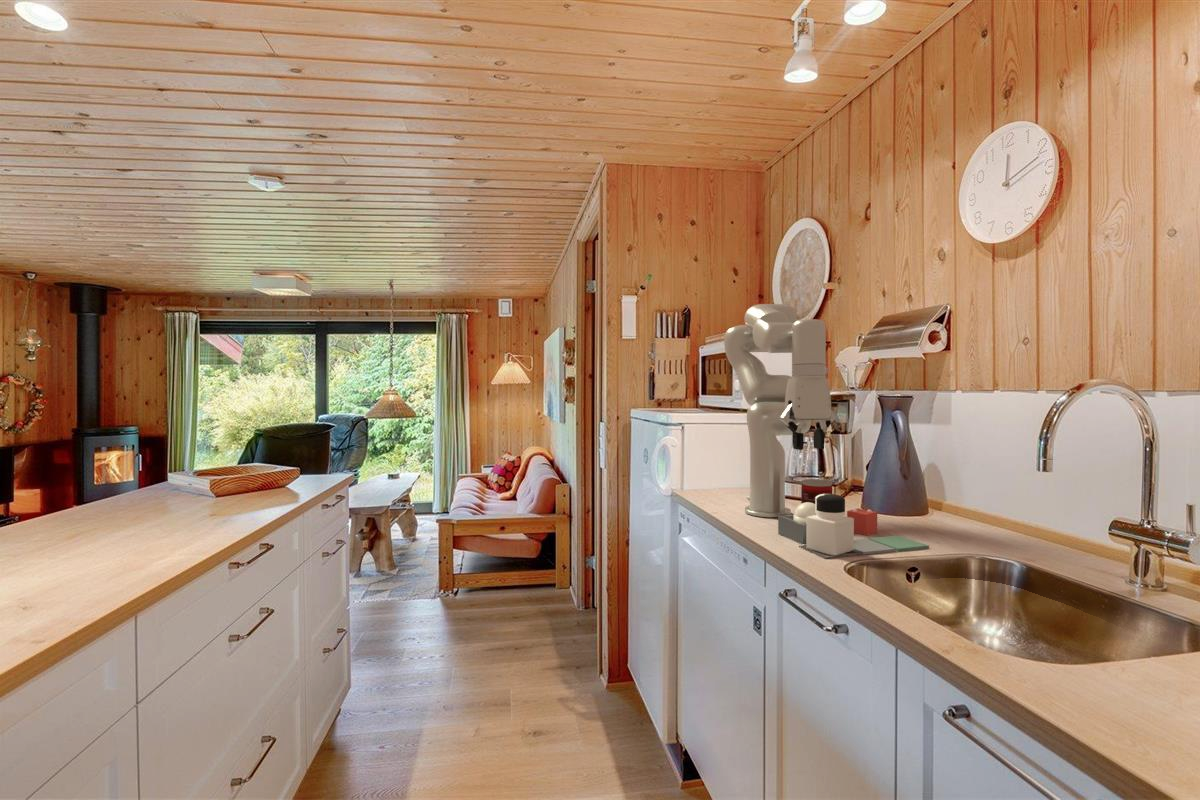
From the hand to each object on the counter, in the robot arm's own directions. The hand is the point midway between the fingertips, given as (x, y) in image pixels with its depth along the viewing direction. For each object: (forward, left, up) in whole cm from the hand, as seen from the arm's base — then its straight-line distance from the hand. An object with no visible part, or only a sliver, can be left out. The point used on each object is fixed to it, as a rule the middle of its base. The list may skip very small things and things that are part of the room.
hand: (808, 448), depth 136 cm
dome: (0, 0, -19) cm, 19 cm away
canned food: (-12, +11, -22) cm, 27 cm away
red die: (-1, +16, -21) cm, 27 cm away
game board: (+11, +6, -21) cm, 25 cm away
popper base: (0, 0, -21) cm, 21 cm away
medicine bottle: (+11, -2, -21) cm, 24 cm away
